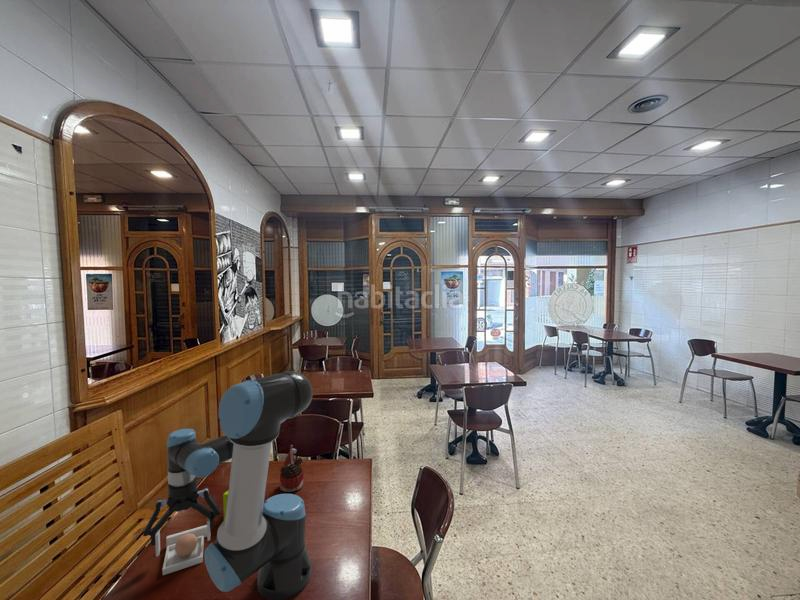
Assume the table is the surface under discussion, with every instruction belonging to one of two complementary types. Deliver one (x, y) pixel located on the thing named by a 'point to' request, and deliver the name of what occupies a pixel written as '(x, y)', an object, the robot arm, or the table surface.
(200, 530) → the low wall
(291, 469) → the cake
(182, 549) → the ball
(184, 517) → the table surface
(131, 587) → the table surface
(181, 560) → the light gray square tray
